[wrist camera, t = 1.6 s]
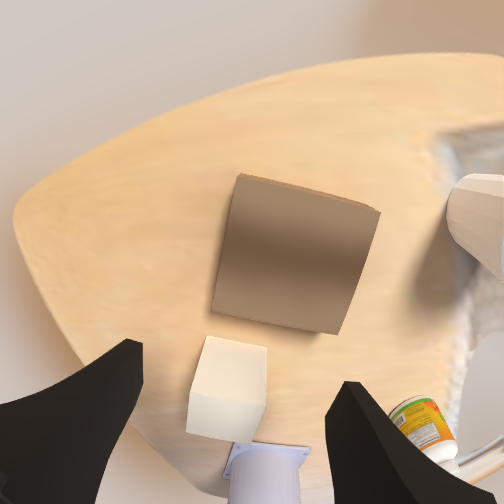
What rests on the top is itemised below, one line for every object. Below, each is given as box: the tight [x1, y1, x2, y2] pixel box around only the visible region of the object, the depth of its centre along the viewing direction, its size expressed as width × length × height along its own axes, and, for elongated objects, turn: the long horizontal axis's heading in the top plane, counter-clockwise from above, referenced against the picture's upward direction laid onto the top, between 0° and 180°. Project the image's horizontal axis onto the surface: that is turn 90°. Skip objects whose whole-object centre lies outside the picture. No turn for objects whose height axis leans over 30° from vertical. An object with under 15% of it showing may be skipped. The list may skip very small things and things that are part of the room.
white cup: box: [446, 174, 504, 283], centre depth 14 cm, size 7×7×7 cm
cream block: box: [186, 335, 267, 445], centre depth 19 cm, size 4×4×6 cm
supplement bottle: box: [389, 395, 460, 478], centre depth 19 cm, size 5×5×10 cm
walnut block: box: [211, 173, 381, 335], centre depth 18 cm, size 8×8×3 cm
